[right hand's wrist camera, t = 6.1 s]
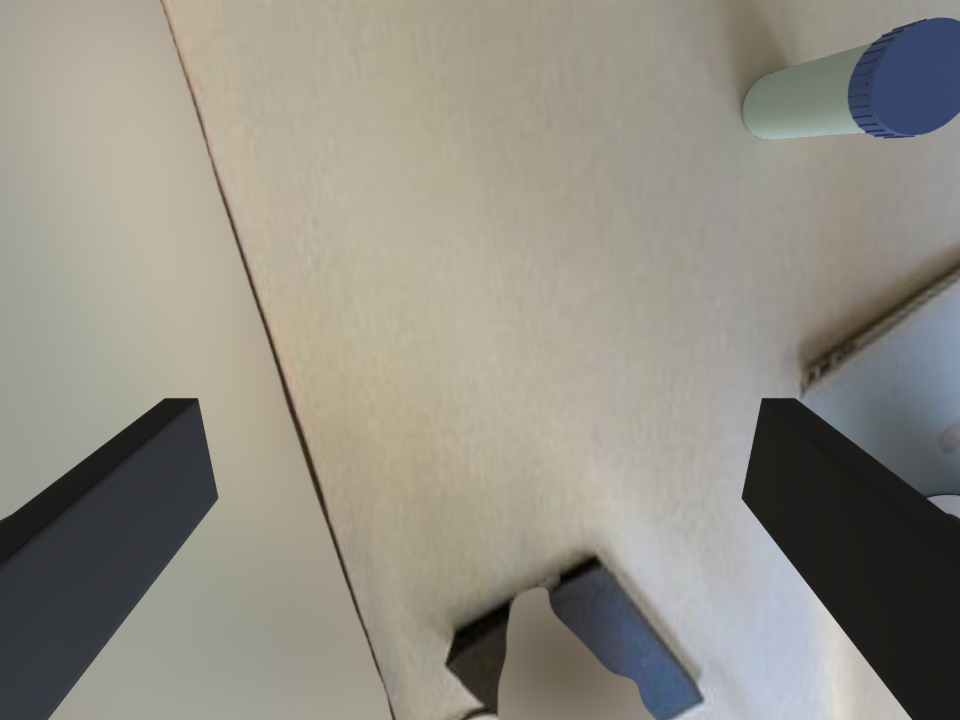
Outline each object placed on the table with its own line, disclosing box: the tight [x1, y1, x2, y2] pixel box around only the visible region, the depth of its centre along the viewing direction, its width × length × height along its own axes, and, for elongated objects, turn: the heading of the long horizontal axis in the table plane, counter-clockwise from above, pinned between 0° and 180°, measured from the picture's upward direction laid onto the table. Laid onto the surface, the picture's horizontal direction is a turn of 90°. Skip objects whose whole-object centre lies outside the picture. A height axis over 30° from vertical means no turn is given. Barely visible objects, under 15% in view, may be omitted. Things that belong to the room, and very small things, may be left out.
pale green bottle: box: [742, 43, 872, 139], centre depth 39 cm, size 5×5×17 cm
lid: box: [847, 18, 960, 138], centre depth 32 cm, size 6×6×2 cm
